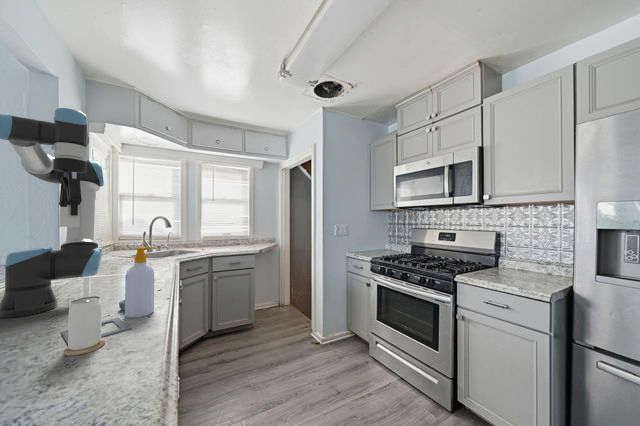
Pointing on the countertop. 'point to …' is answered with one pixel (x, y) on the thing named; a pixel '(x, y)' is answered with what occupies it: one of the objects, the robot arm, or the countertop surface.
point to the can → (84, 323)
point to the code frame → (117, 321)
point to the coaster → (79, 352)
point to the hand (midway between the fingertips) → (69, 227)
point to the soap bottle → (139, 287)
